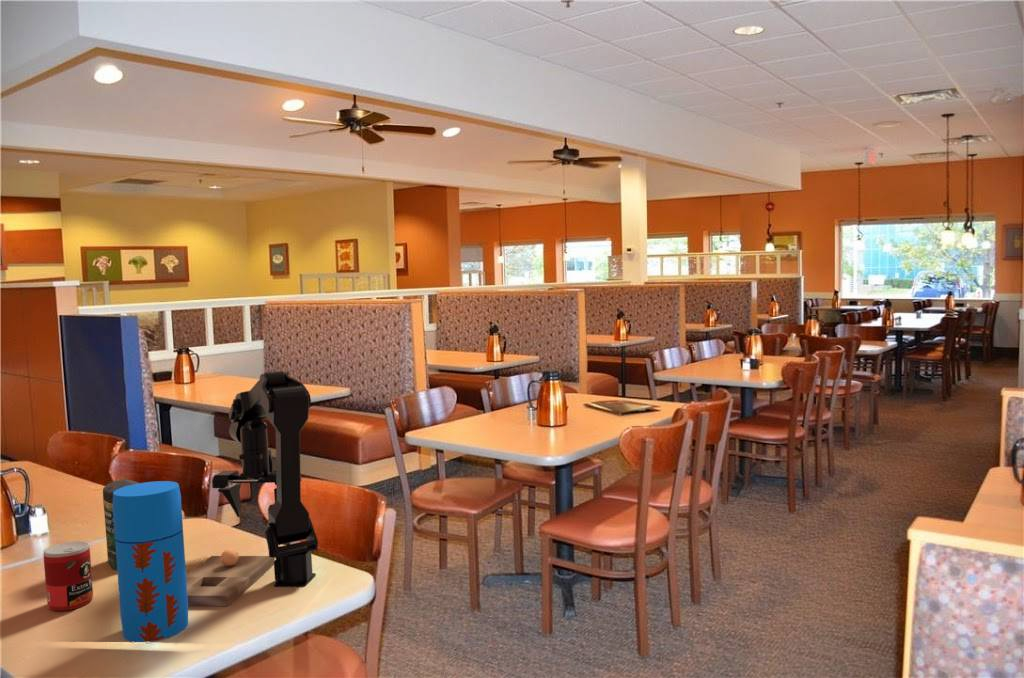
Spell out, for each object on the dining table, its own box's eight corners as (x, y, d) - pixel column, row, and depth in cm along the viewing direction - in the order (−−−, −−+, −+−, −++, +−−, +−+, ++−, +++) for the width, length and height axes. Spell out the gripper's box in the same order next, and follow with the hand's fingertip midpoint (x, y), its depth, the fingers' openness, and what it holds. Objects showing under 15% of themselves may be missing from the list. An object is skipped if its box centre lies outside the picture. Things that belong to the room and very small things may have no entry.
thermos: (136, 618, 146) (126, 482, 144) (197, 614, 147) (188, 479, 145) (111, 645, 135) (100, 498, 134) (177, 640, 136) (167, 494, 134)
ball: (242, 562, 168) (241, 546, 168) (234, 568, 165) (233, 551, 165) (226, 562, 169) (225, 546, 168) (218, 568, 165) (217, 551, 165)
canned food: (74, 612, 150) (69, 554, 149) (37, 610, 152) (32, 553, 151) (102, 596, 158) (98, 541, 157) (67, 595, 159) (63, 540, 159)
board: (274, 565, 172) (274, 555, 172) (227, 606, 150) (227, 595, 150) (212, 565, 174) (211, 555, 173) (156, 605, 152) (156, 595, 152)
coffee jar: (103, 564, 177) (97, 481, 176) (141, 555, 182) (136, 474, 181) (116, 575, 169) (109, 488, 168) (155, 565, 175) (149, 481, 173)
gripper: (308, 440, 187) (311, 506, 188) (231, 441, 189) (235, 507, 190) (289, 449, 176) (293, 520, 177) (208, 451, 178) (213, 521, 179)
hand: (259, 516), depth 181 cm, fingers open, 9 cm apart
